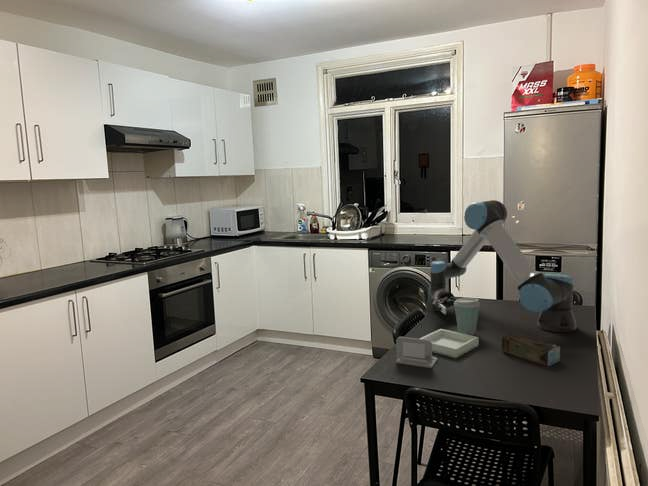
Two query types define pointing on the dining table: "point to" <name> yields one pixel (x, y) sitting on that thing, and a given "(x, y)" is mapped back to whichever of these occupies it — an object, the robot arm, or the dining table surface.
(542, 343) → the beverage carton
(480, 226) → the robot arm
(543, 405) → the dining table surface
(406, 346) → the handheld gaming console
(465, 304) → the disposable coffee cup
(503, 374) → the dining table surface
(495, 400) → the dining table surface
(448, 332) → the sage tray
